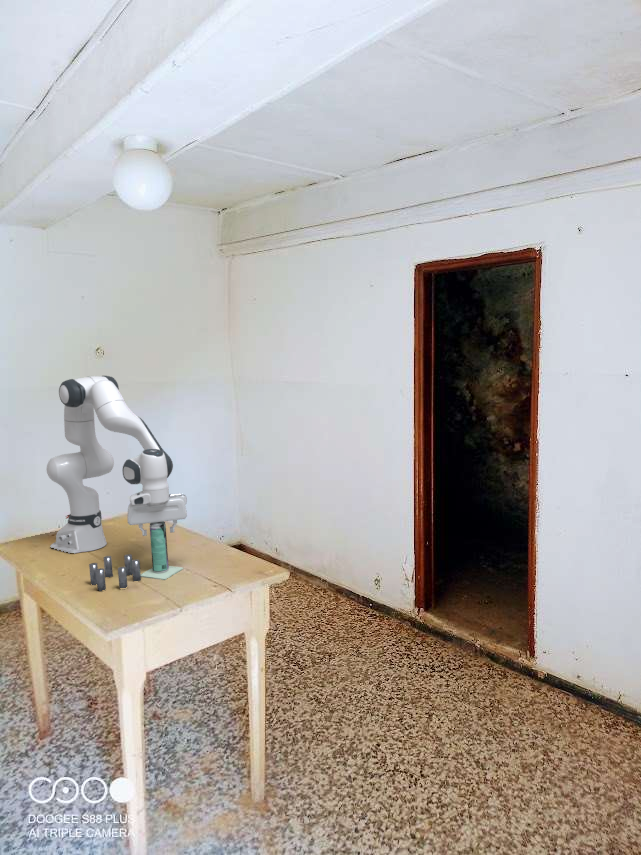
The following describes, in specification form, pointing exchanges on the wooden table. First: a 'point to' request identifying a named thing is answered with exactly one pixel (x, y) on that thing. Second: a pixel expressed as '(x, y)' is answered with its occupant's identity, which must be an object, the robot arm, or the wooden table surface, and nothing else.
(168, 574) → the mat
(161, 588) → the wooden table surface
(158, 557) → the spray can
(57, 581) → the wooden table surface
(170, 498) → the robot arm
